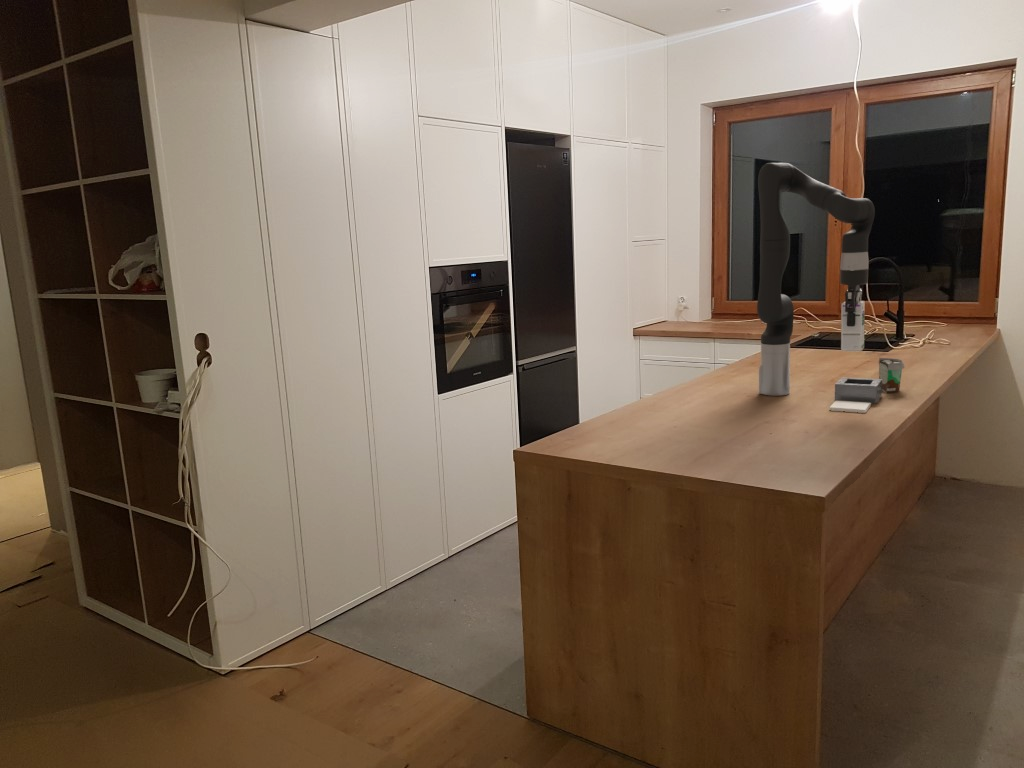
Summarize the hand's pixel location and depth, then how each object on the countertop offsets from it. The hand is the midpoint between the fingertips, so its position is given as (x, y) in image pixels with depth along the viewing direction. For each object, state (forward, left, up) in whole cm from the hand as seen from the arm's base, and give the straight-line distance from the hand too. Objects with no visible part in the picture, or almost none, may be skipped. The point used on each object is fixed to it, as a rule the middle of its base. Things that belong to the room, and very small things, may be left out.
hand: (852, 324), depth 227 cm
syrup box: (0, 0, -8) cm, 8 cm away
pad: (0, 0, -26) cm, 26 cm away
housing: (0, +14, -26) cm, 29 cm away
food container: (+8, +30, -26) cm, 41 cm away
